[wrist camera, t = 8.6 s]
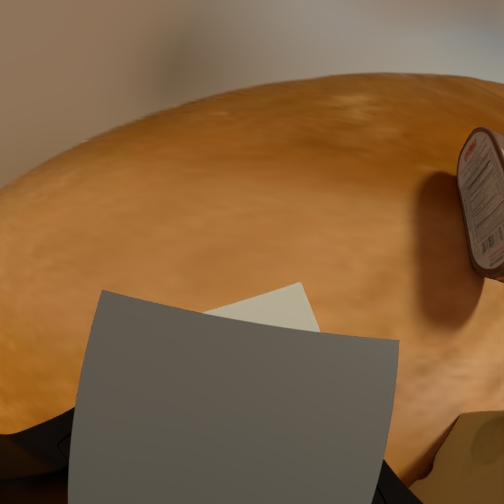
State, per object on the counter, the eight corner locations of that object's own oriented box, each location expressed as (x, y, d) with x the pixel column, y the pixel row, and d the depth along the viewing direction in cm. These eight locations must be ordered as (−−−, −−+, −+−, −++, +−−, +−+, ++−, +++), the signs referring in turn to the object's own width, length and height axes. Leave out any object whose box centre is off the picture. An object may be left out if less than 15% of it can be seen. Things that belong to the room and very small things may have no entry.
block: (276, 452, 13) (339, 582, 2) (186, 436, 13) (68, 529, 2) (291, 369, 15) (398, 340, 4) (202, 353, 15) (102, 289, 4)
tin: (488, 296, 19) (553, 259, 11) (466, 291, 19) (534, 250, 12) (466, 168, 25) (502, 119, 18) (445, 160, 25) (481, 106, 18)
